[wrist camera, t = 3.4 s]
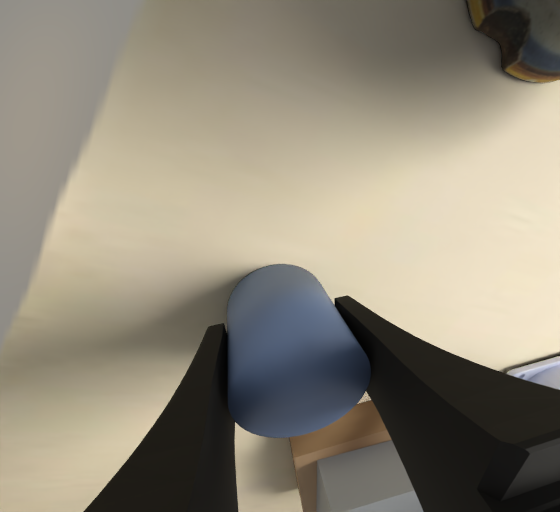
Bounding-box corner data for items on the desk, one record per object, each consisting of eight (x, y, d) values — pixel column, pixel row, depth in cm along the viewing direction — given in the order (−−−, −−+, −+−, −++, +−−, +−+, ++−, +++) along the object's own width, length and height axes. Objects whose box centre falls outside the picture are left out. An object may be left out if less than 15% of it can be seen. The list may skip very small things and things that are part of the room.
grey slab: (419, 432, 16) (450, 479, 14) (402, 485, 19) (425, 530, 17) (317, 460, 15) (332, 515, 13) (316, 511, 18) (328, 562, 16)
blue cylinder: (322, 255, 11) (374, 318, 7) (326, 333, 13) (368, 416, 10) (216, 276, 11) (210, 357, 7) (237, 354, 13) (243, 451, 9)
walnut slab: (406, 381, 18) (432, 416, 16) (395, 449, 22) (414, 484, 20) (285, 415, 17) (294, 457, 15) (296, 479, 21) (305, 520, 19)
